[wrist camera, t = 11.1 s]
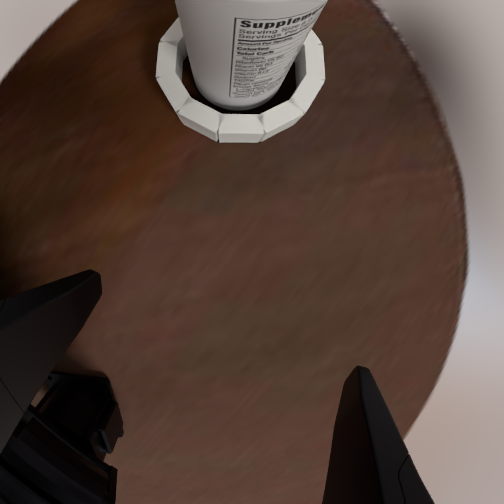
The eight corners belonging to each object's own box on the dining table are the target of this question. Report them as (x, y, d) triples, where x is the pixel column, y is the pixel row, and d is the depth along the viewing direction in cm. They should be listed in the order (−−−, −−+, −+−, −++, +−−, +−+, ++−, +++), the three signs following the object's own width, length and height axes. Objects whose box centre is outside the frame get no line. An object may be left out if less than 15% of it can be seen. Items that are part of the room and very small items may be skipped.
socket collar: (162, 144, 20) (152, 136, 17) (170, 18, 18) (164, -2, 15) (314, 144, 21) (327, 137, 18) (307, 21, 19) (317, 2, 16)
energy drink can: (248, 28, 19) (280, -129, 4) (297, 87, 20) (398, -47, 5) (178, 67, 19) (126, -87, 4) (226, 130, 20) (231, 0, 5)
